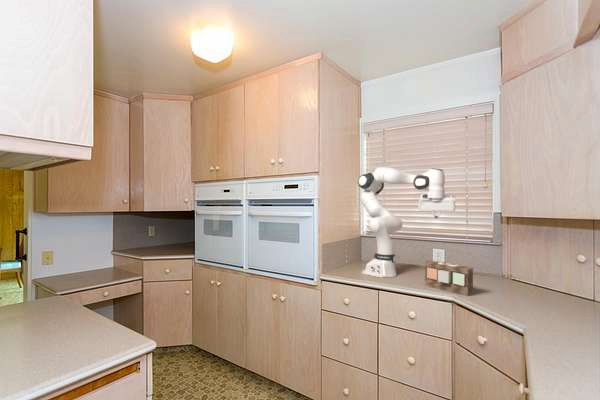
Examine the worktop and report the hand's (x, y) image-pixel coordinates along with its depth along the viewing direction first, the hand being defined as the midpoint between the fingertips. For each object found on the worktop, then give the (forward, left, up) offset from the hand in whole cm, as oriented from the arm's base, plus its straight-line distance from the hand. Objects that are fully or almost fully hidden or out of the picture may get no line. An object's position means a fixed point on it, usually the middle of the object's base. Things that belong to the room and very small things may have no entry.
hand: (436, 218), depth 185 cm
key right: (+14, -13, -34) cm, 39 cm away
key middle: (+7, -12, -34) cm, 37 cm away
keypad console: (+8, -9, -39) cm, 41 cm away
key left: (0, -8, -34) cm, 35 cm away
